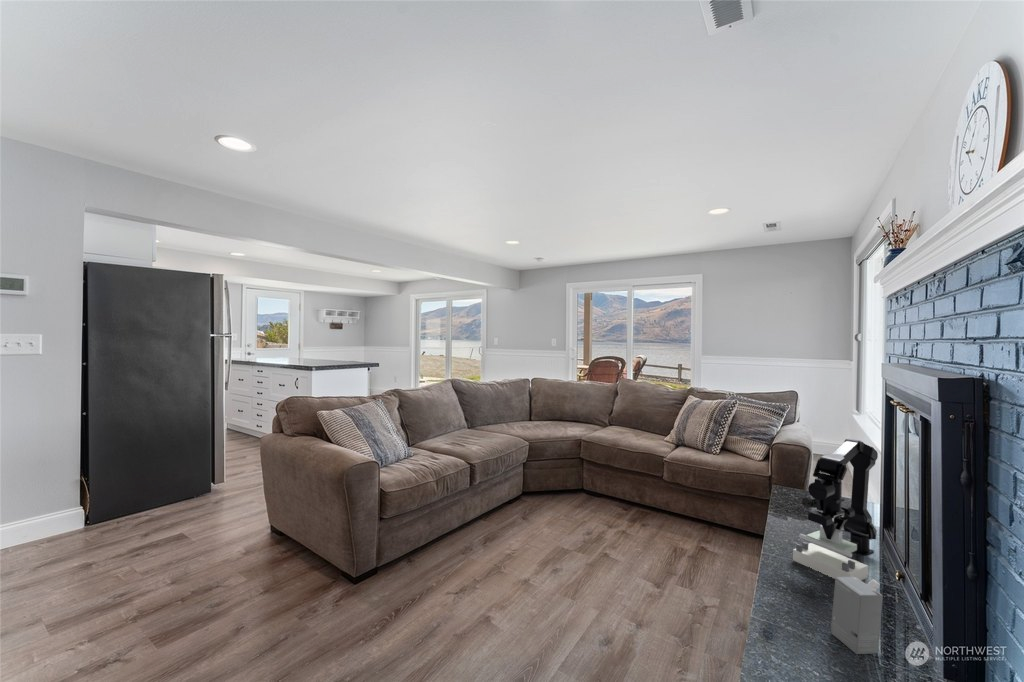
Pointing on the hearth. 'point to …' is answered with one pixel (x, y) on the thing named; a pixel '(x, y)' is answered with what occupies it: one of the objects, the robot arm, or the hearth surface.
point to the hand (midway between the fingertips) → (831, 538)
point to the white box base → (828, 562)
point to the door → (831, 541)
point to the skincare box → (856, 615)
